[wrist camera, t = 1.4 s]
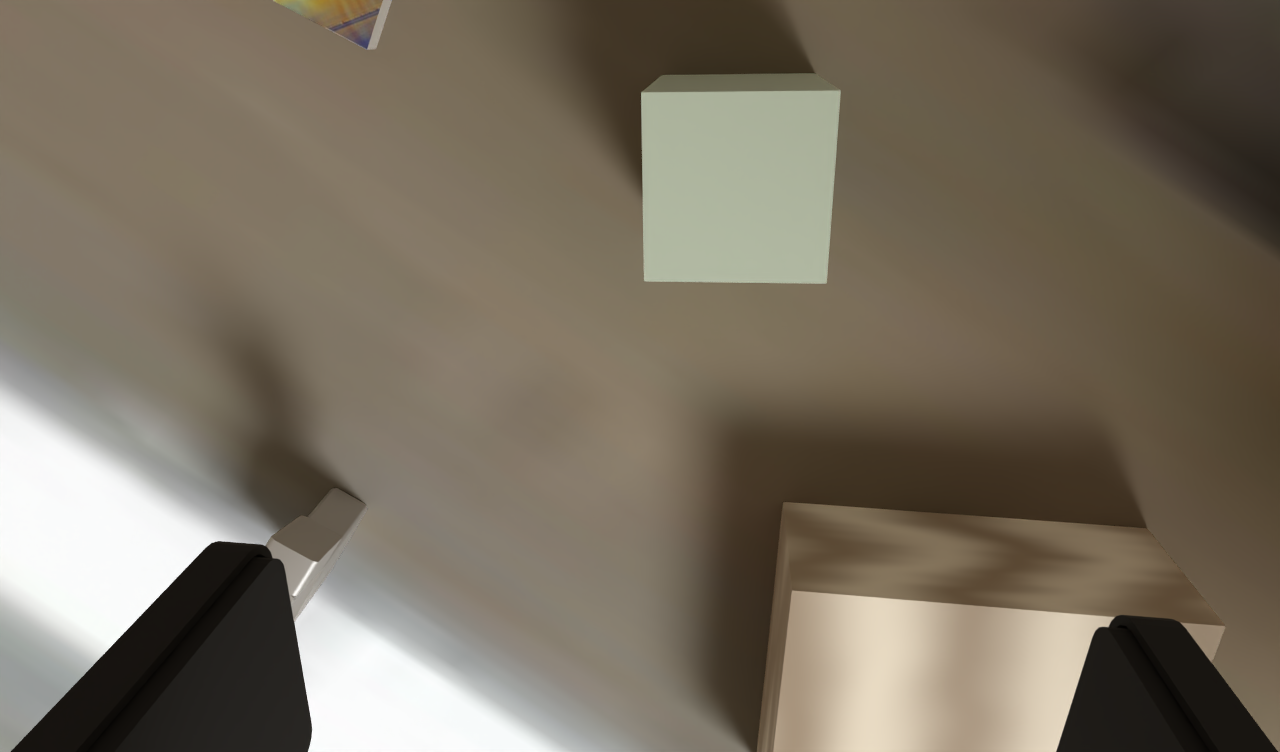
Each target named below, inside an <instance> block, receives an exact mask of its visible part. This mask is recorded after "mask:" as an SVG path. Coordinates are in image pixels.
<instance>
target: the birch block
mask: <svg viewBox="0 0 1280 752" xmlns="http://www.w3.org/2000/svg"><path fill="white" fill-rule="evenodd" d="M1119 615H1131V616H1143V617H1156V618H1168V619H1174V620H1176V621H1179V622H1180V623H1181V624H1182V625H1183V626H1184V627H1185V628H1186V629H1187V631H1188V632H1189V633H1190V635H1191V636H1192V637H1193V639H1194V640H1195V641H1196V643H1197V644H1198V645H1199V647H1200V648H1201V649H1202V651H1203V652H1204V653H1205V655H1206V656H1207V657H1208V659H1209V660H1210V661H1211V663H1212V662H1213V659H1214V656H1215V654H1216V651H1217V648H1218V646H1219V643H1220V640H1221V638H1222V635H1223V633H1224V630H1225V627H1226V626H1225V625H1224V623H1223V622H1222V621H1221V620H1220V618H1219V617H1218V616H1217V615H1216V613H1215V612H1214V611H1213V610H1212V609H1211V607H1210V606H1209V605H1208V604H1207V602H1206V601H1205V600H1204V599H1203V597H1202V596H1201V595H1200V594H1199V592H1198V591H1197V590H1196V589H1195V587H1194V586H1193V585H1192V584H1191V582H1190V581H1189V580H1188V579H1187V577H1186V576H1185V575H1184V574H1183V572H1182V571H1181V570H1180V569H1179V567H1178V566H1177V565H1176V564H1175V562H1174V561H1173V560H1172V559H1171V557H1170V556H1169V555H1168V554H1167V552H1166V551H1165V550H1164V549H1163V547H1162V546H1161V545H1160V544H1159V542H1158V541H1157V540H1156V539H1155V537H1154V536H1153V535H1152V534H1151V532H1150V531H1149V530H1148V529H1147V528H1136V527H1122V526H1109V525H1095V524H1081V523H1067V522H1054V521H1040V520H1026V519H1012V518H998V517H985V516H971V515H957V514H943V513H930V512H916V511H902V510H888V509H875V508H861V507H847V506H833V505H820V504H806V503H792V502H783V508H782V517H781V527H780V536H779V546H778V555H777V564H776V574H775V583H774V593H773V602H772V612H771V621H770V631H769V640H768V650H767V659H766V669H765V678H764V687H763V697H762V706H761V716H760V725H759V735H758V744H757V752H1056V751H1057V748H1058V744H1059V741H1060V738H1061V735H1062V732H1063V729H1064V725H1065V722H1066V719H1067V716H1068V713H1069V710H1070V706H1071V703H1072V700H1073V697H1074V694H1075V691H1076V687H1077V684H1078V681H1079V678H1080V675H1081V672H1082V668H1083V665H1084V662H1085V659H1086V656H1087V653H1088V650H1089V646H1090V643H1091V640H1092V637H1093V635H1094V633H1095V631H1096V630H1097V629H1098V628H1099V627H1109V625H1110V623H1111V621H1112V620H1113V619H1114V618H1115V617H1116V616H1119Z"/></svg>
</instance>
